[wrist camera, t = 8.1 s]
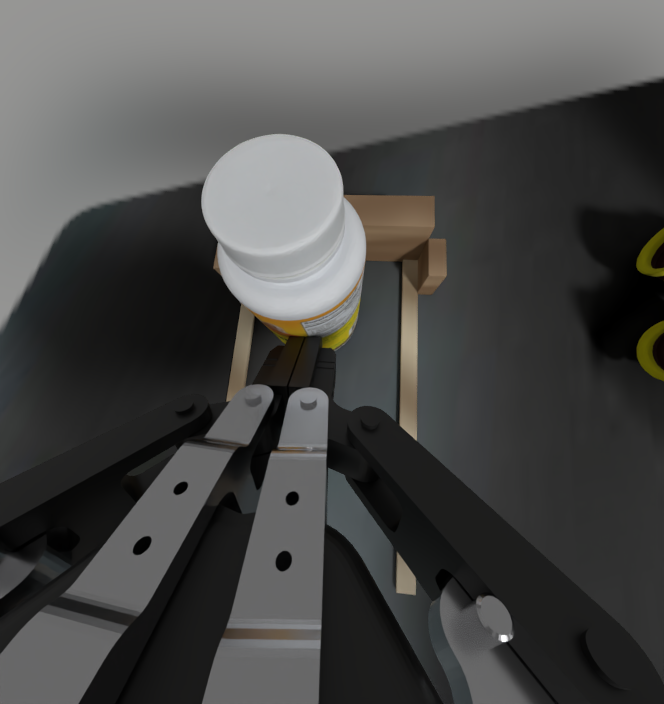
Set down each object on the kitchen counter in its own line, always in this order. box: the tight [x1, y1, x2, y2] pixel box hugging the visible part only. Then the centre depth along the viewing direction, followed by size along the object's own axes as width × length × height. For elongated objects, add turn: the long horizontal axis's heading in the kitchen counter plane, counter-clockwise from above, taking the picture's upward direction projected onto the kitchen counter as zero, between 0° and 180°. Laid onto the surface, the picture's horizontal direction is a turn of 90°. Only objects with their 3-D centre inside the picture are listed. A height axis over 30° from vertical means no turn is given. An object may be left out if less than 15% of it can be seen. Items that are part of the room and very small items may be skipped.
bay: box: [213, 195, 447, 595], centre depth 14 cm, size 22×14×4 cm, turn 176°
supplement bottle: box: [201, 134, 366, 351], centre depth 12 cm, size 6×6×10 cm
